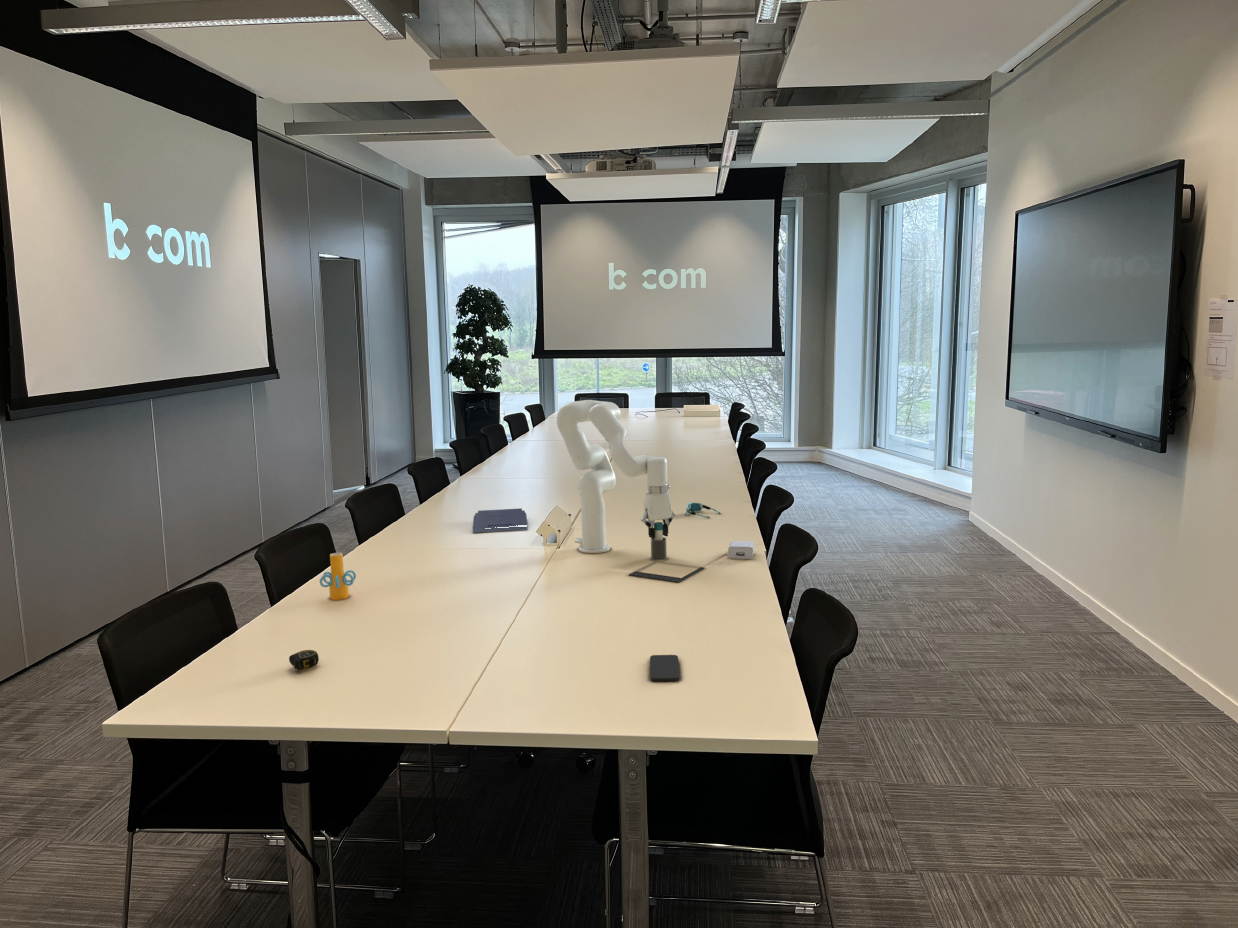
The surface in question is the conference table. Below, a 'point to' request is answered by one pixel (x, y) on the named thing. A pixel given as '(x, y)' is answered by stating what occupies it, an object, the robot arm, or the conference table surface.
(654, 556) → the pen cup
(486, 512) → the dark grey flat slab
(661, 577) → the mat
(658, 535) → the marker
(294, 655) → the tape measure
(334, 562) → the cylinder
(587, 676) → the conference table surface
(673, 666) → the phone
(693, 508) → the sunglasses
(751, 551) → the charger
